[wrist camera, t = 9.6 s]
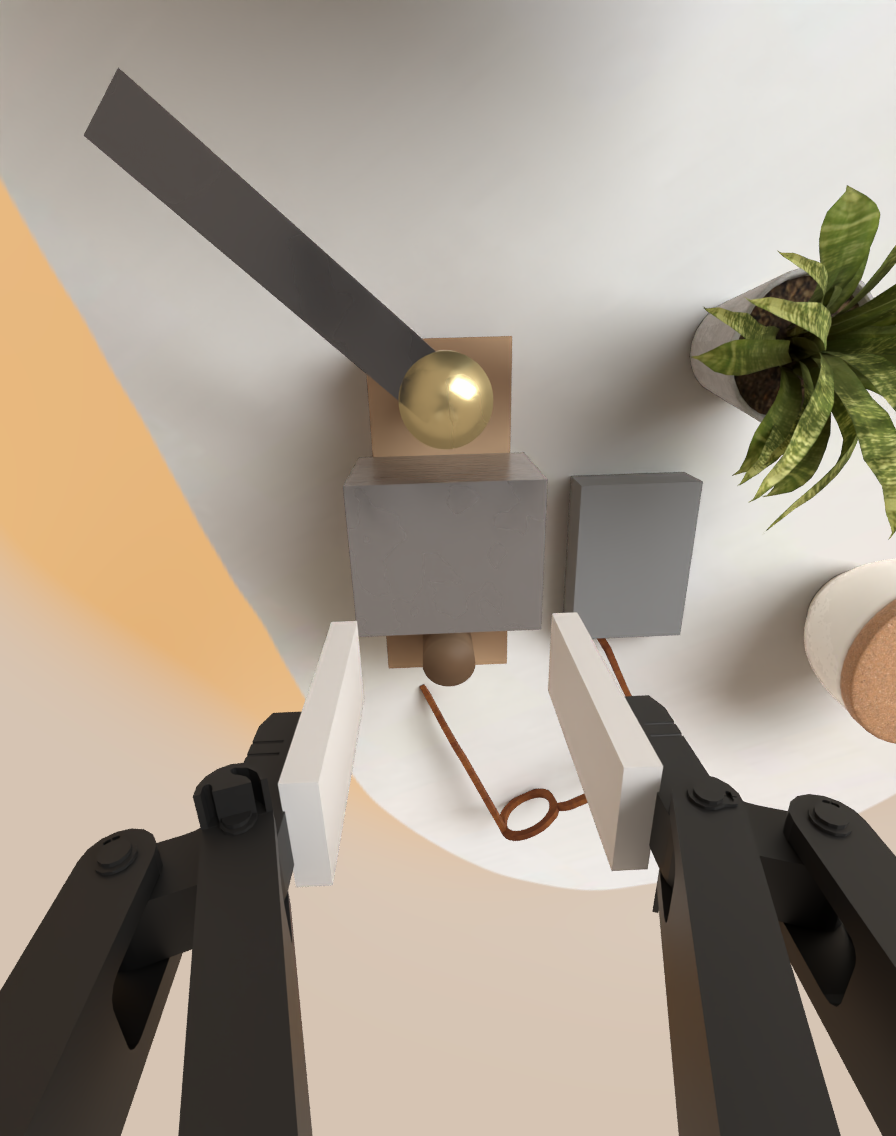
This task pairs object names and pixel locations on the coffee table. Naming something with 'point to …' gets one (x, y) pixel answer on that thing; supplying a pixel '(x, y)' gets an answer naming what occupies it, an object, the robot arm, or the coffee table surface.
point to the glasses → (536, 793)
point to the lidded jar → (858, 644)
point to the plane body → (448, 653)
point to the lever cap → (446, 543)
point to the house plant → (811, 359)
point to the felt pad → (630, 552)
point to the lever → (292, 267)
